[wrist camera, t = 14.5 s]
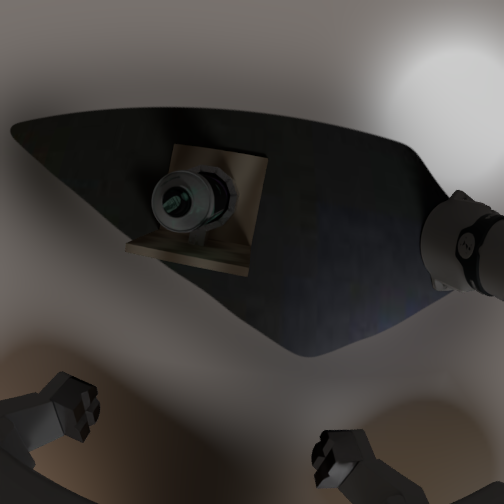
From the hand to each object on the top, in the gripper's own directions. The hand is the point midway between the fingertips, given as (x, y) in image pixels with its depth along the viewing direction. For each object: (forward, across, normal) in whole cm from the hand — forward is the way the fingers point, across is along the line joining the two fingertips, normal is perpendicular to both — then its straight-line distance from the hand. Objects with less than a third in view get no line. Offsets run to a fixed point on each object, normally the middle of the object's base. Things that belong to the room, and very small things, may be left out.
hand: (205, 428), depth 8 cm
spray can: (+34, +6, -6) cm, 35 cm away
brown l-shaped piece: (+35, +6, -6) cm, 36 cm away
